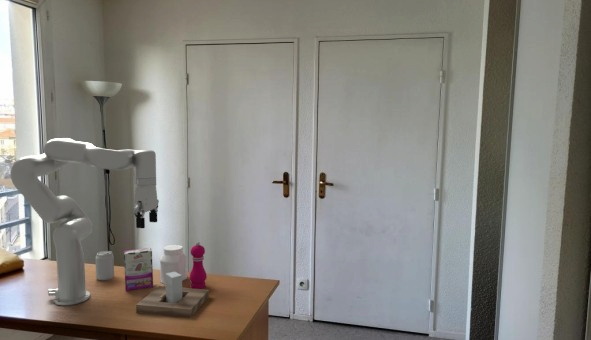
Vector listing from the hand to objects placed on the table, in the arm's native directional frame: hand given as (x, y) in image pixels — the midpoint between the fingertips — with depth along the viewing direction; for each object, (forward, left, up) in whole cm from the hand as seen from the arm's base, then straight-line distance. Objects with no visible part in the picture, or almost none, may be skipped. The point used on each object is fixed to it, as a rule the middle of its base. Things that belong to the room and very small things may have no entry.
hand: (147, 224), depth 159 cm
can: (-25, +24, -31) cm, 46 cm away
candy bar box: (-7, +12, -31) cm, 34 cm away
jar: (+6, +20, -31) cm, 37 cm away
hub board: (+11, -6, -30) cm, 33 cm away
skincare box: (+11, -6, -31) cm, 33 cm away
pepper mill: (+18, +11, -31) cm, 37 cm away
